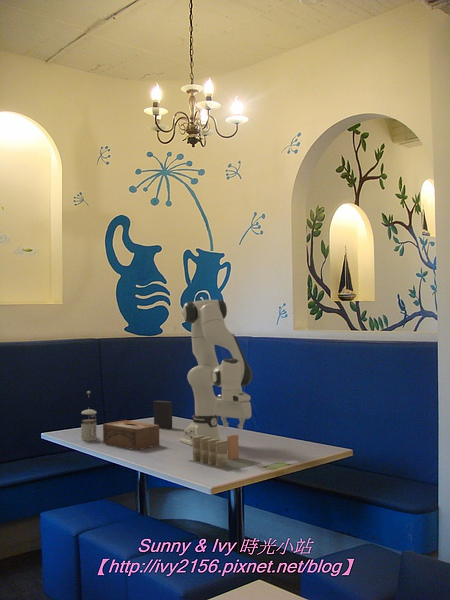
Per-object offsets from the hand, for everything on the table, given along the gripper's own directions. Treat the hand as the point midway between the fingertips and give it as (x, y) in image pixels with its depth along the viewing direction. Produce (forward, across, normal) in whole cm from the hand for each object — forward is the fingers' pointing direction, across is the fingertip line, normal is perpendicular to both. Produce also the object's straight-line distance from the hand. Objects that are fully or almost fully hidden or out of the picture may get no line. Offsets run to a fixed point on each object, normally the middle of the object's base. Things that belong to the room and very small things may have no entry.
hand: (233, 427), depth 277 cm
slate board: (+14, +1, -7) cm, 16 cm away
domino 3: (+13, 0, -12) cm, 18 cm away
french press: (+12, -92, -18) cm, 94 cm away
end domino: (+13, -1, 0) cm, 13 cm away
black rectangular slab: (+13, -90, +28) cm, 95 cm away
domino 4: (+13, +5, -12) cm, 19 cm away
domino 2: (+13, -5, -12) cm, 18 cm away
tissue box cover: (+13, -64, -11) cm, 66 cm away
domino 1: (+13, -10, -12) cm, 20 cm away
